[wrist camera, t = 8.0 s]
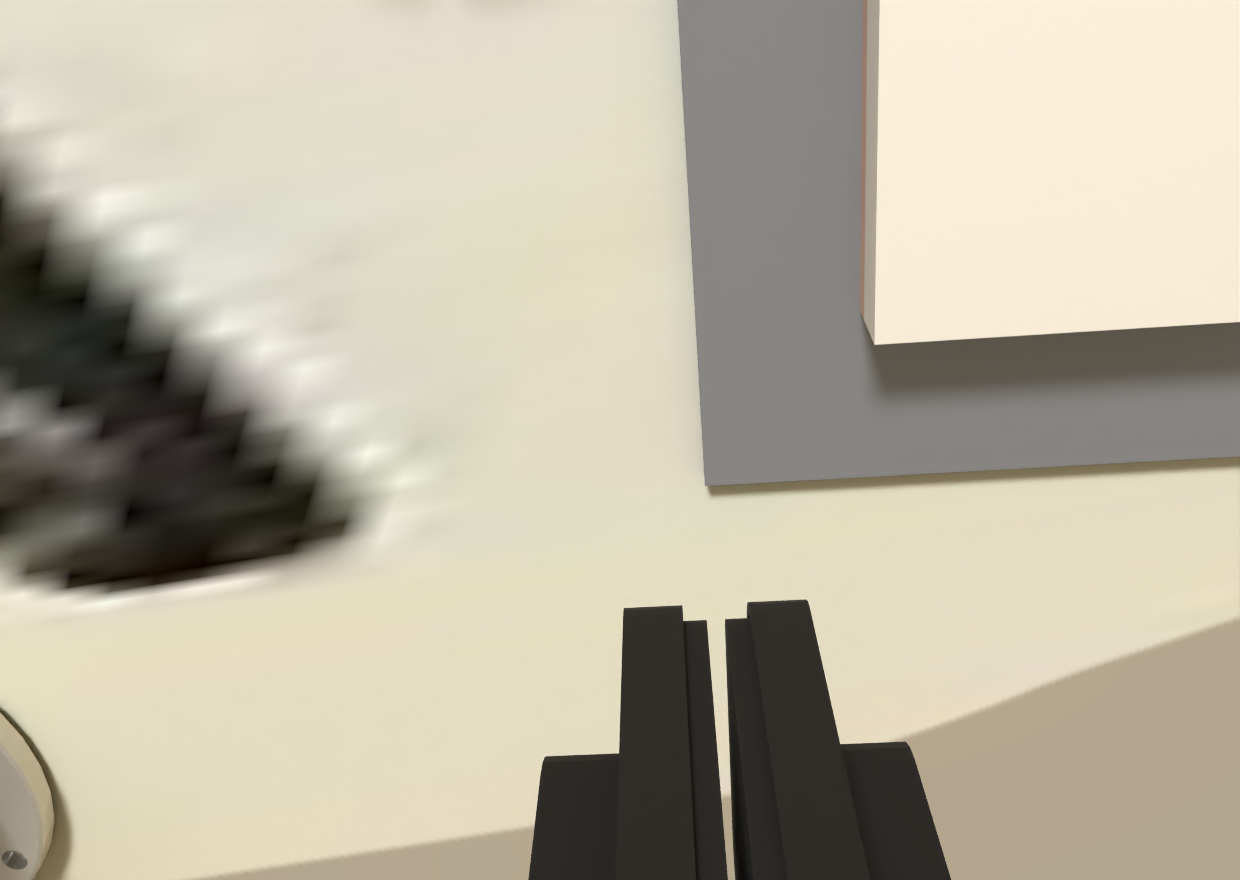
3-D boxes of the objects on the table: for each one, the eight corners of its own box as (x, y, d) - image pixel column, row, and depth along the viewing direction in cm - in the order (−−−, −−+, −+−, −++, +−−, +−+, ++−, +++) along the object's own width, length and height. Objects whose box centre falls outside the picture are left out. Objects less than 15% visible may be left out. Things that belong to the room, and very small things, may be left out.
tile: (859, 310, 31) (1252, 285, 30) (874, 344, 29) (1297, 317, 28) (862, -13, 27) (1306, -50, 27) (879, -1, 25) (1362, -41, 25)
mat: (1276, 443, 33) (1286, 453, 32) (704, 476, 34) (705, 486, 33) (1417, -312, 25) (1433, -316, 24) (663, -240, 26) (663, -241, 26)
